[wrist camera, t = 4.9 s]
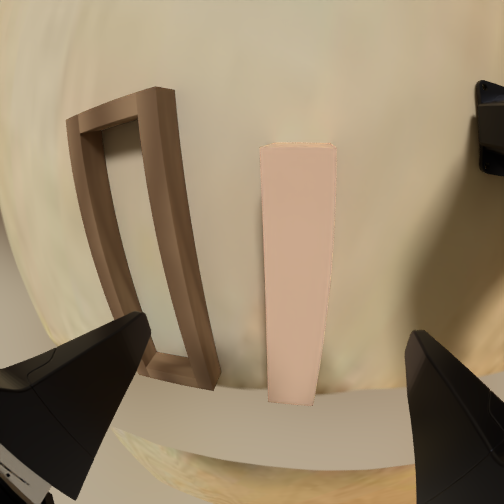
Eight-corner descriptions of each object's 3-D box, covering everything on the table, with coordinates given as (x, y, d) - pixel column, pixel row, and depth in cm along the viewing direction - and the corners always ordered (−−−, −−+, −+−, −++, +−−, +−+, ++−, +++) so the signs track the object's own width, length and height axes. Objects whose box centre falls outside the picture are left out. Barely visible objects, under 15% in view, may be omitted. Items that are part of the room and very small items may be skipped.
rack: (174, 89, 16) (155, 86, 14) (221, 372, 26) (213, 390, 24) (87, 117, 18) (65, 119, 16) (149, 359, 28) (138, 374, 26)
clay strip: (330, 143, 16) (336, 147, 12) (316, 361, 23) (312, 405, 19) (274, 142, 17) (259, 147, 12) (277, 358, 24) (268, 401, 20)
